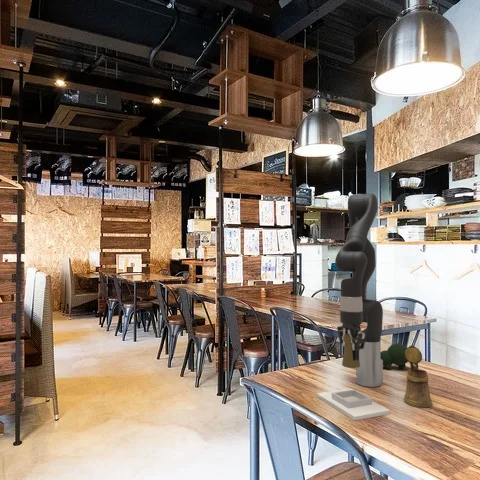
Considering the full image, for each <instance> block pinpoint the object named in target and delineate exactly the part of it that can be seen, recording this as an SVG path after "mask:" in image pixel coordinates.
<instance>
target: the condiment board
mask: <svg viewBox="0 0 480 480" xmlns="http://www.w3.org/2000/svg"><path fill="white" fill-rule="evenodd" d="M316 397H317V398H318V399H319V400H321V401H322V402H325V403H326V404H328V406H331V408H334V409H335V410H337V411H338V412H340V413H342V414H343V415H345V416H347V417H348V418H350V419H351V420H352V421H361V420H366V419H370V418H376V417H381V416H386V415H391V409H389V408H387V407H385V406H383V405H381V404H379V403H377V402H375V401H374V400H373V398H372V397H370V396H368V395H366V394H365V393H363V392H360V391H358V390H356V389H351V388H343V389H337V390H331V391H330V390H329V391H325V392H318V393H316Z"/></svg>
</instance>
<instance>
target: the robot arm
mask: <svg viewBox="0 0 480 480" xmlns="http://www.w3.org/2000/svg"><path fill="white" fill-rule="evenodd" d="M378 204H379V203H378V198H377V196H376V194H374V193H358V194H350V195H349V197H348V199H347V213H348V214H347V215H348V222H349V230H348V232H347V234H346V239H345V241H344V244H343V245H342V247H341V248H340V249H339V250H338V251H337V254H336V256H335V260H334V261H335V262H334V264H335V265H334V266H335V267H336V269H337V270H338V271H340V272H346V273H347V272H348V273H350V272H351V273H352V277H347V278H343V279H341V281H340V301H339V321H340V323H341V324H342V325H340V326H337V327H336V330H337V335H338V340H339V341H338V342H339V344H342V347H343V348H344V347H345V342H344V340H343V337H344V335H345V334H348V335H349V336H350V338H351V343H352V349H353V350H352V353H353V361H355V360H357V361H358V360H359V361H360V367H358V368H355V369H356V384H358V385H359V386H363V387H369V388H370V387H371V388H375V387H379V386H381V385H383V384H384V383H383V382H384V377H383V376H384V373H383V372H384V371H383V369H384V365H383V360H382V359H381V352H382V351H381V346H382V345H381V337H382V333H383V319H384V311H383V310H384V309H383V306H382V305H383V304H382V303H381V302H380V301H379V300H375V299H369V298H366V297H367V296H366V290H367V286H368V285H367V284H368V283H369V281H370V279H371V277H372V276H373V274H374V272H375V270H376V266H377V265H376V250H375V247H374V245H373V244H372V243H371V241H370V240H369V238H368V234H369V231H370V230H371V227H372V225H373V223H374V220H375V218H376V217H377V213H378V209H379V208H378V207H379V206H378ZM359 218H360V219H359ZM363 323H365V324H366V328H364V329H365V330H364V329H363V330H361V329H362V328H361V325H362V324H363ZM353 338H357V340H355V341H354V340H353ZM355 343H356V346H355Z"/></svg>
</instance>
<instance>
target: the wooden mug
mask: <svg viewBox="0 0 480 480" xmlns="http://www.w3.org/2000/svg"><path fill="white" fill-rule="evenodd" d="M404 354H405V359H406V360H407V361H408V362H407V363H409V366H410V368H409V369H408V372H407V373H406V377H405V378H406V379H407V380H406V387H405V394H404V397H403V401H404V403H405V404H407V405H409V406H412V407H415V408H422V409H423V408H431V407H432V406H433V401H432V398H431V393H430V388H429V387H430V385H429V376H428V371H426V370H425V369H419V363H421V362H422V360H423V353H422V352H421V351H420V349H419V348H418V347H416V346H414V345H413V344H411V345H410V346H408V347H407V349H406V350H405V353H404Z"/></svg>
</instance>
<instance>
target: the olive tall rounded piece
mask: <svg viewBox="0 0 480 480" xmlns="http://www.w3.org/2000/svg"><path fill="white" fill-rule="evenodd" d="M342 337H343V336H342ZM342 340H344V342H345V347H344V346H343V356H342V365H341V366H343V367H344V368H348V369H349V368H350V369H356V368H358V367H360V361H359V360H358V361H357V360H355V361H353V353H352V350H353V349H352V343H351V338H350V336H349V335H348V334H345V335H344V337H343V339H342ZM353 340H354V341H355V340H357V338H353ZM355 346H356V343H355Z"/></svg>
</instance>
